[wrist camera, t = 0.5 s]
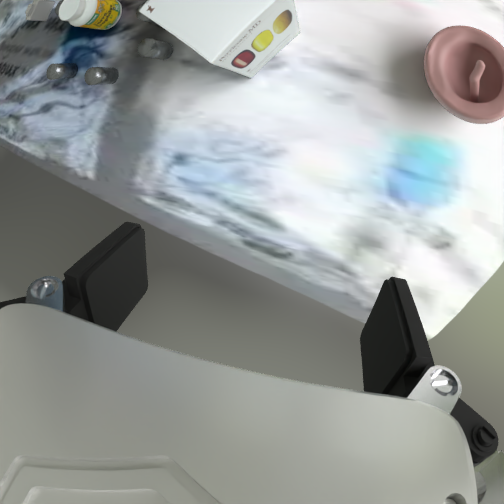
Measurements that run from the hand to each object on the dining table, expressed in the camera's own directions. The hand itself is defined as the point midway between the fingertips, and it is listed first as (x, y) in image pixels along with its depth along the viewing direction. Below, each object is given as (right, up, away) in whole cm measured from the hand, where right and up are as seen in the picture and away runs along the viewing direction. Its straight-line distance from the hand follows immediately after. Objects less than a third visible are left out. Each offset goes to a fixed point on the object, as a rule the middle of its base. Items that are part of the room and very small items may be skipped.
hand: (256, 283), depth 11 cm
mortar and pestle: (+26, +24, +17) cm, 39 cm away
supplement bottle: (-22, +37, +20) cm, 48 cm away
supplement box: (0, +29, +20) cm, 35 cm away
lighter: (-36, +45, +19) cm, 61 cm away
